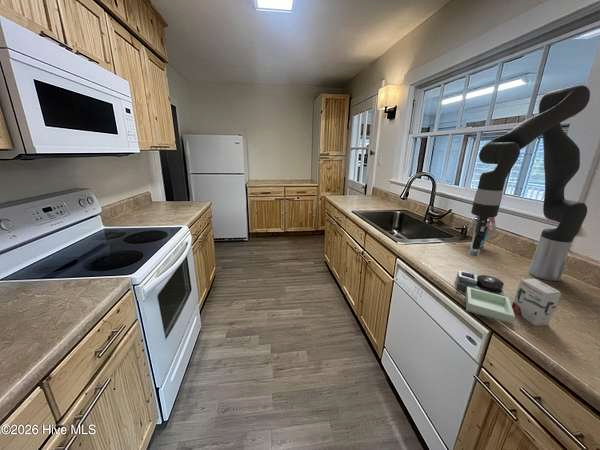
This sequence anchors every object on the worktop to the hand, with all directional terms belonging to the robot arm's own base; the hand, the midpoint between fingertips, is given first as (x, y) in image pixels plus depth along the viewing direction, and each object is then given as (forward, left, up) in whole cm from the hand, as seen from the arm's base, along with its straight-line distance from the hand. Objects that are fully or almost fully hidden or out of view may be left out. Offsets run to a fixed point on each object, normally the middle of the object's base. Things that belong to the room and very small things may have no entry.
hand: (475, 247), depth 90 cm
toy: (-7, -54, -17) cm, 57 cm away
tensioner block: (-4, 0, -17) cm, 17 cm away
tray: (-6, +12, -17) cm, 21 cm away
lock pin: (0, 0, -3) cm, 3 cm away
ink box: (-17, +10, -17) cm, 26 cm away
